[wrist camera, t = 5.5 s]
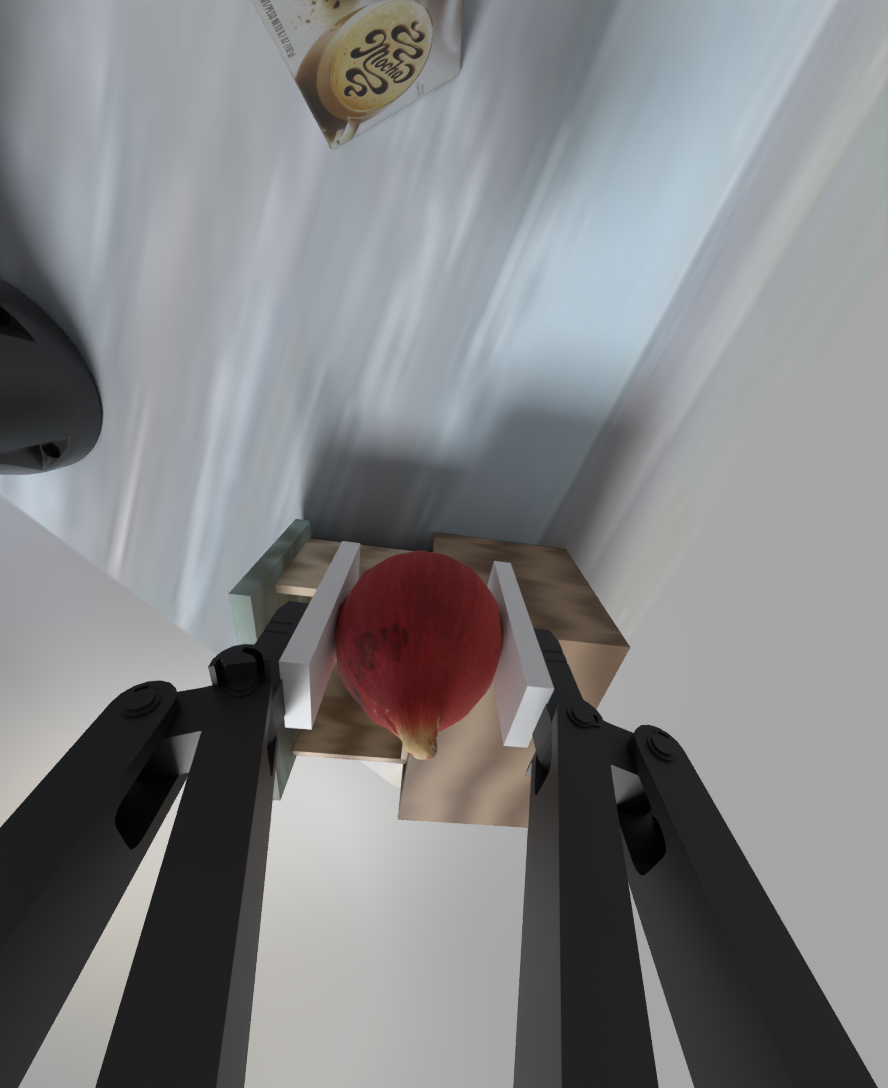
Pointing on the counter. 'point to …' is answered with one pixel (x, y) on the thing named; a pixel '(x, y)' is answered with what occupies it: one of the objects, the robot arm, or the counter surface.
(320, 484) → the counter surface
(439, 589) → the onion
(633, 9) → the counter surface
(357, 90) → the coffee box
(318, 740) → the drawer
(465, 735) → the cabinet
